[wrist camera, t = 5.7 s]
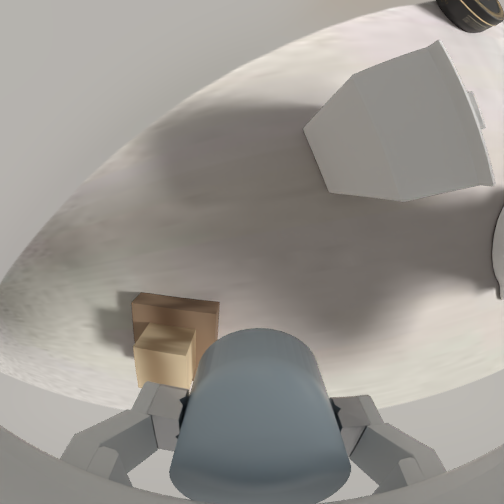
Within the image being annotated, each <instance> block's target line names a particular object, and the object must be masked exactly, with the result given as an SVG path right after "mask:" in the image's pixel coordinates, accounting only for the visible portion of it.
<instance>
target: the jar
mask: <svg viewBox="0 0 504 504" xmlns="http://www.w3.org/2000/svg"><path fill="white" fill-rule="evenodd" d="M436 1H437V3H438V5H439V7H440V8H441V10H442V11H443V12H444V14H445V15H446V16H447V17H448V18H449V19H450V20H451V21H452V22H453V23H454V24H456V25H457V26H458V27H460V28H461V29H463V30H465V31H467V32H470V33H478V32H482V31H484V30H486V29H488V28H490V27H492V26H496V25H497V24H499V23H501V22H502V21H503V20H504V12H503V9H502V7H501V5H500V3H499V1H498V0H436Z"/></svg>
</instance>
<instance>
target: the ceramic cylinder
mask: <svg viewBox="0 0 504 504" xmlns="http://www.w3.org/2000/svg"><path fill="white" fill-rule="evenodd" d="M350 472H351V465H350V462H349V458H348V455H347V452H346V449H345V445H344V442H343V439H342V436H341V433H340V430H339V427H338V424H337V421H336V418H335V415H334V411H333V408H332V405H331V402H330V399H329V396H328V393H327V390H326V387H325V385H324V382H323V379H322V376H321V373H320V370H319V367H318V364H317V361H316V358H315V356H314V355H313V353H312V351H311V350H310V349H309V348H308V347H307V346H306V345H305V344H304V343H303V342H302V341H300V340H299V339H297V338H296V337H294V336H292V335H290V334H287V333H284V332H282V331H277V330H273V329H265V328H254V329H245V330H240V331H236V332H233V333H230V334H228V335H226V336H223V337H222V338H220V339H218V340H217V341H215V342H214V343H213V344H212V345H210V346H209V348H208V349H207V350H206V351H205V352H204V354H203V355H202V357H201V359H200V361H199V364H198V368H197V371H196V375H195V378H194V382H193V385H192V389H191V392H190V396H189V400H188V403H187V407H186V410H185V414H184V418H183V421H182V425H181V429H180V433H179V436H178V440H177V444H176V447H175V451H174V455H173V459H172V463H171V466H170V471H169V473H170V478H171V481H172V483H173V484H174V486H175V487H176V488H177V489H178V490H179V491H180V492H181V493H182V494H183V495H185V496H186V497H188V498H189V499H191V500H194V501H201V502H209V503H218V504H316V503H318V502H320V501H322V500H324V499H326V498H328V497H330V496H331V495H333V494H334V493H335V492H337V491H338V490H339V489H340V488H341V487H342V486H343V485H344V484H345V483H346V481H347V479H348V478H349V476H350Z"/></svg>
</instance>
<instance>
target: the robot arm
mask: <svg viewBox="0 0 504 504" xmlns="http://www.w3.org/2000/svg"><path fill="white" fill-rule="evenodd" d="M492 259H493V268H494V273H495V276H496V278H497V280H498V282H499V285H500V297H501V299H502V300H504V207H503V209H502V211H501V213H500V215H499V218H498V221H497V225H496V229H495V233H494V239H493V250H492ZM189 396H190V395H189V389H185V388H180V387H175V386H170V385H165V384H158V383H154V382H150V381H147V382H145V383H144V385H143V387H142V389H141V391H140V393H139V395H138V397H137V399H136V401H135V403H134V405H133V407H132V409H131V410H125V411H123V412H121V413H119V414H117V415H115V416H113V417H111V418H109V419H107V420H105V421H103V422H101V423H98V424H96V425H94V426H92V427H90V428H88V429H86V430H83V431H81V432H79V433H77V434H75V435H74V436H73V438H72V440H71V441H70V443H69V445H68V446H67V448H66V450H65V451H64V453H63V455H62V456H61V458H60V459H58V458H56V457H54V456H52V455H50V454H48V453H46V452H44V451H42V450H40V449H39V448H36V447H35V446H33V445H31V444H29V443H27V442H26V441H25V440H23V439H21V438H19V437H18V436H16V435H15V434H13V433H12V432H10V431H8V430H7V429H5V428H4V427H2V426H1V425H0V504H218V503H209V502H201V501H194V500H187V499H182V498H176V497H172V496H167V495H162V494H158V493H153V492H149V491H145V490H142V489H138V488H134V487H133V486H132V484H131V482H130V480H129V477H128V475H127V473H128V472H129V471H131V470H132V469H133V468H135V467H136V466H137V465H138V464H140V463H141V462H143V461H144V460H145V459H146V458H148V457H149V456H150V455H152V454H153V453H154V452H155V451H157V448H158V449H164V450H169V451H175V447H176V444H177V440H178V436H179V433H180V429H181V425H182V421H183V418H184V414H185V410H186V407H187V403H188V400H189ZM329 399H330V402H331V405H332V408H333V411H334V415H335V418H336V421H337V424H338V427H339V430H340V433H341V436H342V439H343V442H344V445H345V449H346V452H347V455H348V457H350V459H351V460H352V461H353V462H354V463H355V464H356V465H357V466H358V467H359V468H360V469H361V470H363V471H364V472H365V473H366V474H367V475H368V476H369V477H370V478H371V479H373V480H374V481H375V482H376V483H377V484H378V485H379V487H378V488H377V489H376V490H375V492H374V493H373V494H372V495H370V496H365V497H360V498H354V499H348V500H342V501H335V502H328V503H319V504H504V444H502V445H501V446H499V447H497V448H495V449H494V450H492V451H490V452H488V453H486V454H484V455H482V456H480V457H478V458H476V459H474V460H472V461H470V462H468V463H466V464H464V465H462V466H459V467H457V468H455V469H452V470H450V471H448V472H447V471H446V470H445V468H444V466H443V464H442V463H441V461H440V459H439V457H438V456H437V454H436V452H435V450H434V449H432V448H430V447H428V446H427V445H425V444H423V443H421V442H419V441H417V440H416V439H414V438H412V437H410V436H409V435H407V434H405V433H404V432H402V431H400V430H399V429H397V428H395V427H394V426H392V425H390V424H389V423H384V422H383V420H382V418H381V416H380V414H379V412H378V410H377V408H376V406H375V404H374V402H373V400H372V398H371V397H370V396H369V395H360V396H349V397H330V398H329Z"/></svg>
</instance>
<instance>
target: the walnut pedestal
mask: <svg viewBox="0 0 504 504" xmlns="http://www.w3.org/2000/svg"><path fill="white" fill-rule="evenodd" d="M131 304H132V318H133V330H134V340H135V343H136V342H137V340H138V339H139V337H140V336H141V334H142V333H143V332H144V330H145V329H146V327H147V326H148V324H149V323H156V324H162V325H169V326H175V327H183V328H190V329H196V368H195V372H194V375H193V379H192V381H194V378H195V375H196V371H197V368H198V364H199V361H200V359H201V357H202V355H203V354H204V352H205V351H206V350H207V349H208V348H209V346H210V345H212V344H213V343H214V342H215V341H217V336H218V318H219V302H213V301H204V300H195V299H187V298H179V297H171V296H163V295H156V294H149V293H142V292H141V293H140V294H139V295H138V296H137V297H136V298H135V299H134V301H133V302H132V303H131Z"/></svg>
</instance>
